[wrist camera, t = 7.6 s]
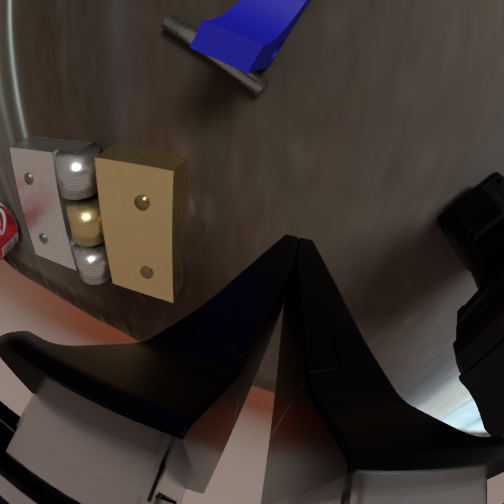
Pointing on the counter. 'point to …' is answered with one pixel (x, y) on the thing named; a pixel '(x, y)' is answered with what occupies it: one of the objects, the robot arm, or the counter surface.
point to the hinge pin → (188, 34)
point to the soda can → (7, 230)
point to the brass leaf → (137, 218)
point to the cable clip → (249, 32)
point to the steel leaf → (58, 200)
